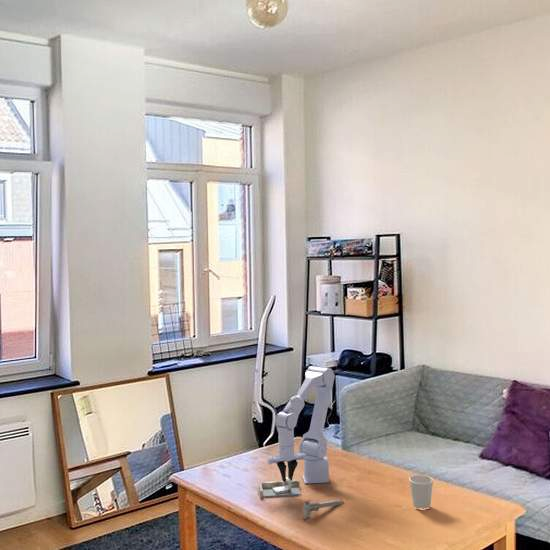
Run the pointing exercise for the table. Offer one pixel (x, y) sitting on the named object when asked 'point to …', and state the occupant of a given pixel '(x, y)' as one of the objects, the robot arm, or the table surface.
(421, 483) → the dixie cup
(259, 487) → the side wall
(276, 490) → the bracket
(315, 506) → the caliper
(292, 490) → the board
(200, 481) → the table surface
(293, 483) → the back wall
